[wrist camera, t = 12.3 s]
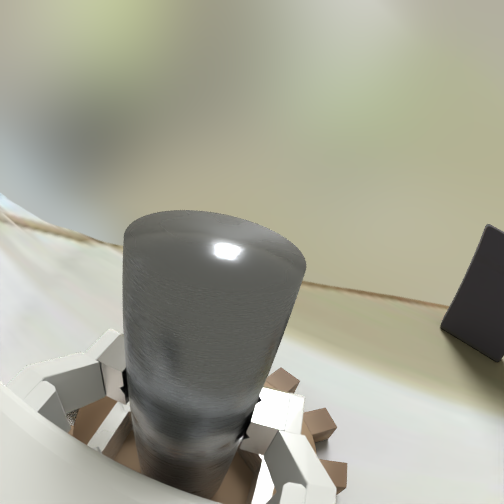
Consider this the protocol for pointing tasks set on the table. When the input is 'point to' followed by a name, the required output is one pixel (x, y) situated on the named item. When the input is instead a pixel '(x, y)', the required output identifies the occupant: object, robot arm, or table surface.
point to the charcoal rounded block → (481, 299)
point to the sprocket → (244, 462)
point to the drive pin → (201, 337)
